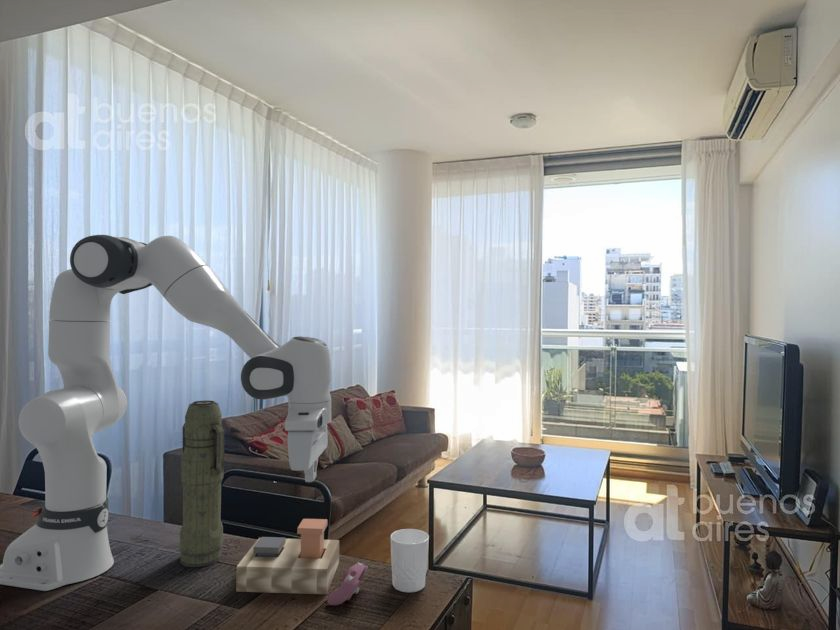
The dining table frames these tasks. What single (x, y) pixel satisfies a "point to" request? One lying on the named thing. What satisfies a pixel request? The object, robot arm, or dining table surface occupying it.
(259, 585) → the socket block
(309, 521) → the terracotta plug
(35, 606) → the dining table surface
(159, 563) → the dining table surface
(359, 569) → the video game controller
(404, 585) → the white cup
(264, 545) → the charcoal plug
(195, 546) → the thermos
